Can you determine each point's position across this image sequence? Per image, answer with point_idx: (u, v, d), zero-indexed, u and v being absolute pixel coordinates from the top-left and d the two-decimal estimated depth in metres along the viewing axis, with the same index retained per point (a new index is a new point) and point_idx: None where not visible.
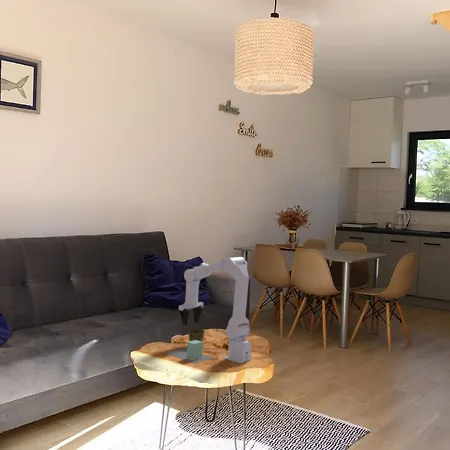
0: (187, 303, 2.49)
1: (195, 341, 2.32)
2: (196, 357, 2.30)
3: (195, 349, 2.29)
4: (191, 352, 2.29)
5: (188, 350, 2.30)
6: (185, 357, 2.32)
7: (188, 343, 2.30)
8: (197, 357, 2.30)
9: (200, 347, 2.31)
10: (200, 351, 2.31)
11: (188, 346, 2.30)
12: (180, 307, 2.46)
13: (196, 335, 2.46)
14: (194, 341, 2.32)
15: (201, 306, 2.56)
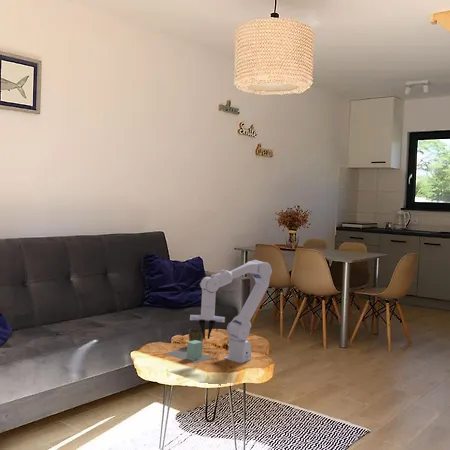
0: None
1: (195, 341, 2.32)
2: (196, 357, 2.30)
3: (195, 349, 2.29)
4: (191, 352, 2.29)
5: (188, 350, 2.30)
6: (185, 357, 2.32)
7: (188, 343, 2.30)
8: (197, 357, 2.30)
9: (200, 347, 2.31)
10: (200, 351, 2.31)
11: (188, 346, 2.30)
12: (190, 316, 2.27)
13: (196, 335, 2.46)
14: (194, 341, 2.32)
15: (214, 321, 2.26)
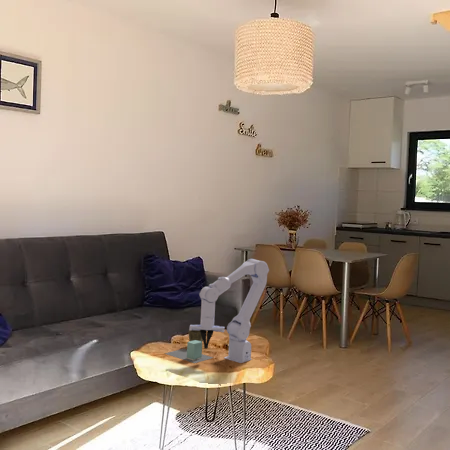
0: (200, 324, 2.27)
1: (195, 341, 2.32)
2: (196, 357, 2.30)
3: (195, 349, 2.29)
4: (191, 352, 2.29)
5: (188, 350, 2.30)
6: (185, 357, 2.32)
7: (188, 343, 2.30)
8: (197, 357, 2.30)
9: (200, 347, 2.31)
10: (200, 351, 2.31)
11: (188, 346, 2.30)
12: None
13: (196, 335, 2.46)
14: (194, 341, 2.32)
15: (212, 331, 2.26)
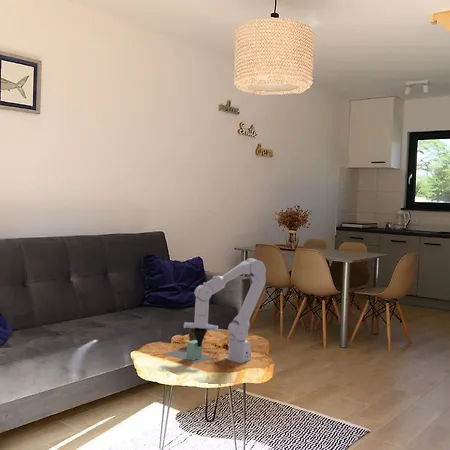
0: None
1: (195, 341, 2.32)
2: (196, 357, 2.30)
3: (195, 349, 2.29)
4: (191, 351, 2.29)
5: (188, 350, 2.30)
6: (185, 357, 2.32)
7: (188, 343, 2.30)
8: (197, 357, 2.30)
9: (200, 347, 2.31)
10: (200, 351, 2.31)
11: (188, 346, 2.30)
12: None
13: None
14: (194, 341, 2.32)
15: (205, 329, 2.28)
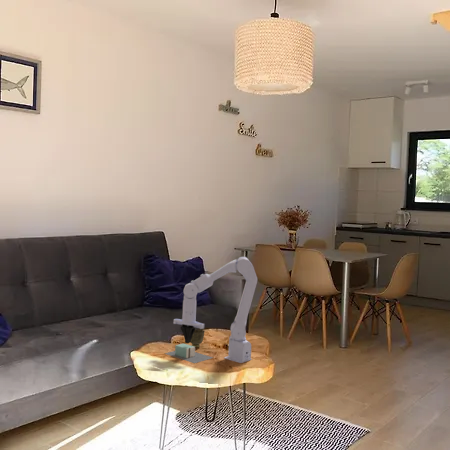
0: None
1: None
2: (188, 347, 2.33)
3: (181, 346, 2.34)
4: (181, 350, 2.33)
5: (180, 354, 2.33)
6: None
7: (175, 353, 2.35)
8: (189, 347, 2.33)
9: (185, 344, 2.37)
10: (188, 345, 2.36)
11: (178, 353, 2.34)
12: None
13: (196, 335, 2.46)
14: None
15: (192, 326, 2.32)
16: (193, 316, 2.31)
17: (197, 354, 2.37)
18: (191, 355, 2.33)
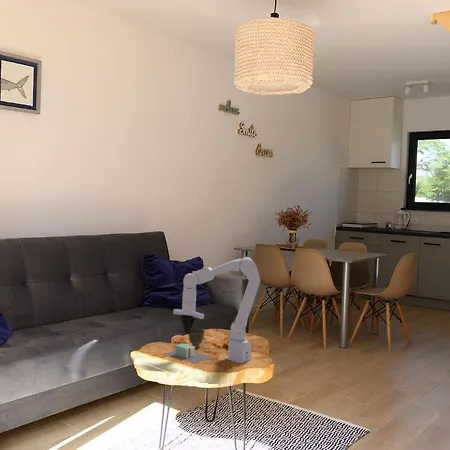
0: None
1: None
2: (188, 347, 2.33)
3: (181, 346, 2.34)
4: (181, 350, 2.33)
5: (180, 354, 2.33)
6: None
7: (175, 353, 2.35)
8: (189, 347, 2.33)
9: (185, 344, 2.37)
10: (188, 345, 2.36)
11: (178, 353, 2.34)
12: None
13: (196, 335, 2.46)
14: None
15: (192, 316, 2.32)
16: (193, 306, 2.31)
17: (197, 354, 2.37)
18: (191, 355, 2.33)
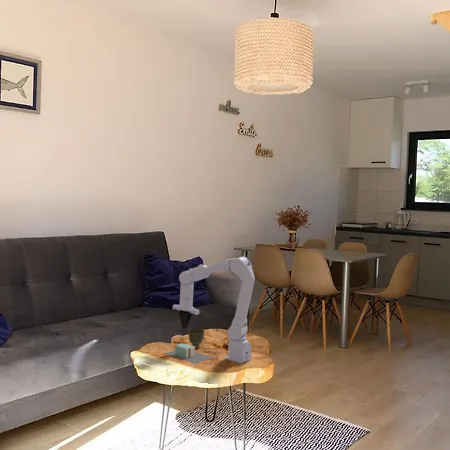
0: None
1: None
2: (188, 347, 2.33)
3: (181, 346, 2.34)
4: (181, 350, 2.33)
5: (180, 354, 2.33)
6: None
7: (175, 353, 2.35)
8: (189, 347, 2.33)
9: (185, 344, 2.37)
10: (188, 345, 2.36)
11: (178, 353, 2.34)
12: None
13: (196, 335, 2.46)
14: None
15: (188, 312, 2.40)
16: (189, 302, 2.39)
17: (197, 354, 2.37)
18: (191, 355, 2.33)
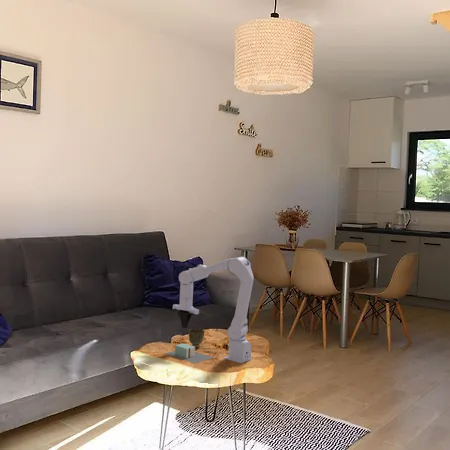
0: None
1: None
2: (188, 347, 2.33)
3: (181, 346, 2.34)
4: (181, 350, 2.33)
5: (180, 354, 2.33)
6: None
7: (175, 353, 2.35)
8: (189, 347, 2.33)
9: (185, 344, 2.37)
10: (188, 345, 2.36)
11: (178, 353, 2.34)
12: None
13: (196, 335, 2.46)
14: None
15: (188, 312, 2.41)
16: (189, 302, 2.40)
17: (197, 354, 2.37)
18: (191, 355, 2.33)
